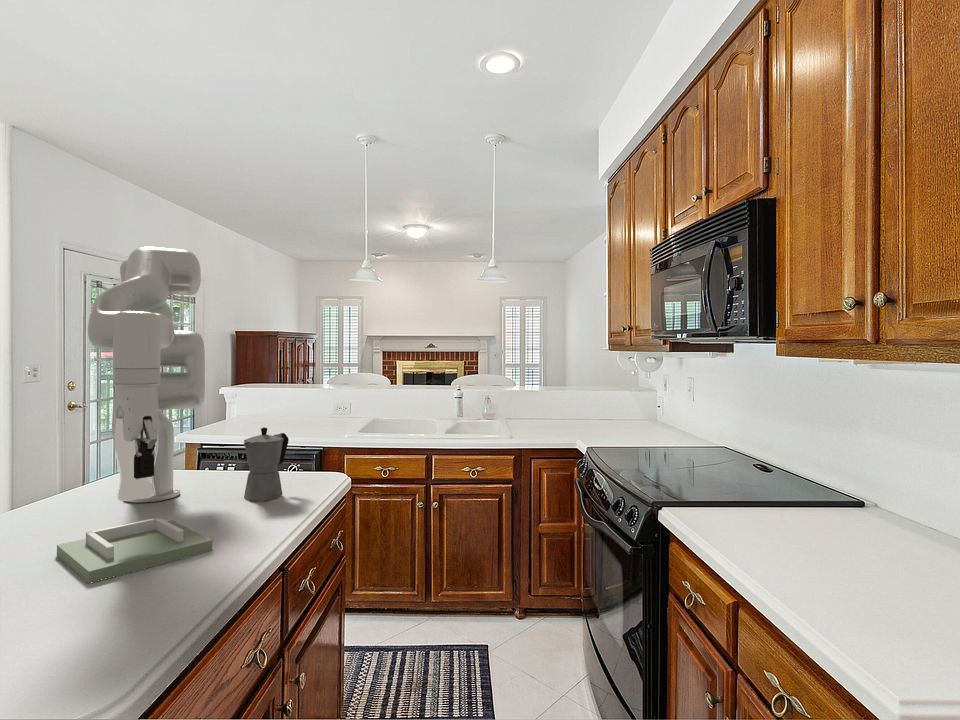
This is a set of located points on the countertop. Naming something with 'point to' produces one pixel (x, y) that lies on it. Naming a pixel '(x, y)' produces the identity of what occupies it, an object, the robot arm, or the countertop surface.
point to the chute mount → (131, 548)
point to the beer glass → (131, 468)
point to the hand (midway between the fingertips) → (136, 473)
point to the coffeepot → (264, 465)
